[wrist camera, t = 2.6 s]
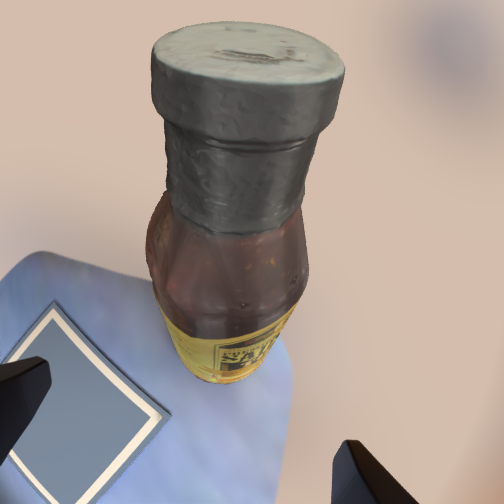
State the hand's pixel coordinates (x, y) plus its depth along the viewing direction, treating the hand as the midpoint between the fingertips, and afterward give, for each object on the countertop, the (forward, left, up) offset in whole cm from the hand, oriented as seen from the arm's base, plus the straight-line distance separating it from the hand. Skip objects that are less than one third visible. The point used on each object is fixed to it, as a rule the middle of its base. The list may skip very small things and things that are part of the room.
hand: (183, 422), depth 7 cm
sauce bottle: (+3, -5, -13) cm, 15 cm away
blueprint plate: (+9, +8, -13) cm, 17 cm away
